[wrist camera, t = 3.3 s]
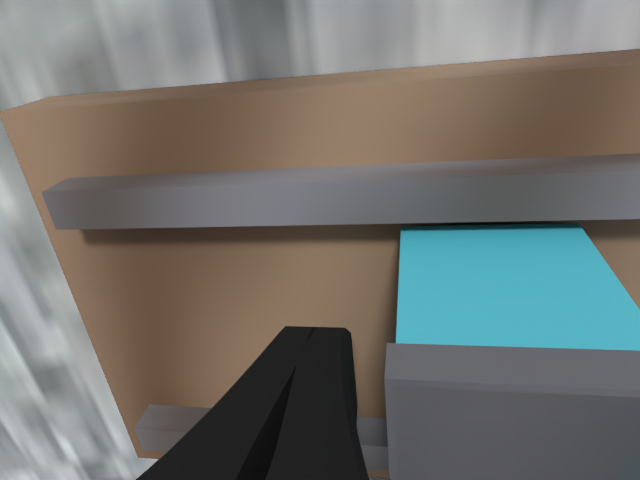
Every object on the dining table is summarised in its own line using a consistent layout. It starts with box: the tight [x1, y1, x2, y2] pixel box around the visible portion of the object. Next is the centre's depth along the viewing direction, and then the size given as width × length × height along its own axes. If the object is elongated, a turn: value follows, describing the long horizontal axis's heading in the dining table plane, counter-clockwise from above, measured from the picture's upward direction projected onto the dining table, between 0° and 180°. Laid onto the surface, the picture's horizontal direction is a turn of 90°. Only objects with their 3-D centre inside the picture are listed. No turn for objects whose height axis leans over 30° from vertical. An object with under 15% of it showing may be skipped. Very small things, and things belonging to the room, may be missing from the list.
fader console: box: [0, 49, 640, 479], centre depth 10 cm, size 20×10×2 cm, turn 96°
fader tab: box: [384, 223, 640, 480], centre depth 8 cm, size 3×5×4 cm, turn 6°
